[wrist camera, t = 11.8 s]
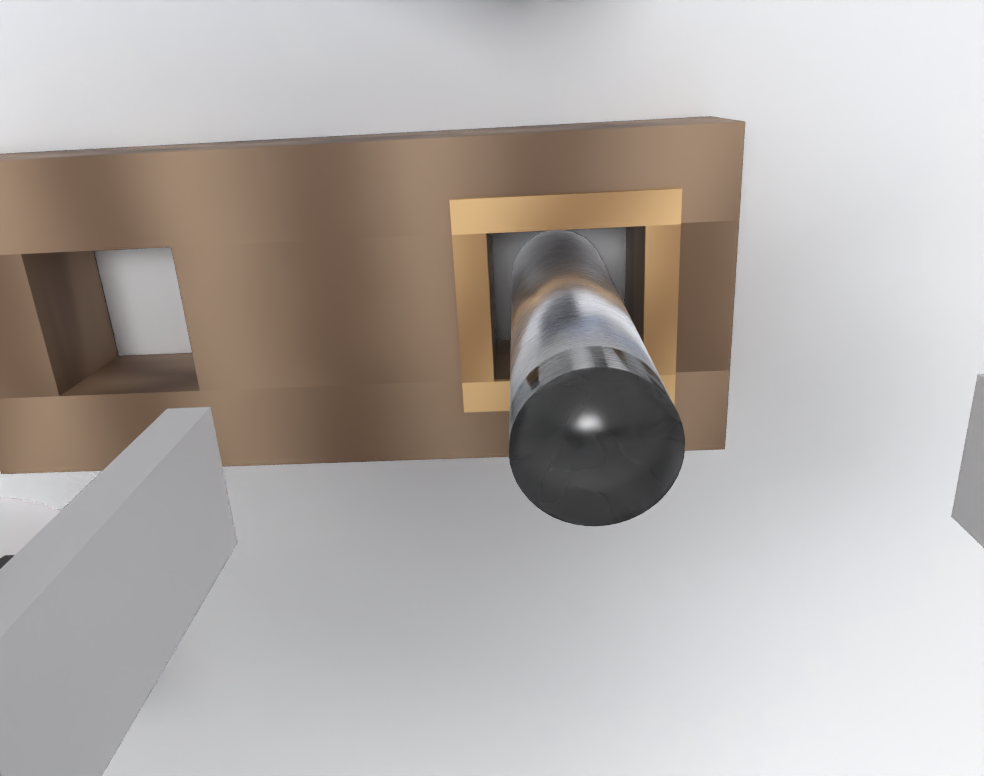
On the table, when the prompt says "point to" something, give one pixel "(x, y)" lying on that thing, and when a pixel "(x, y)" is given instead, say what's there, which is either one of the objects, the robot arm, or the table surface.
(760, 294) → the table surface
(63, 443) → the mount block
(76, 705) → the robot arm
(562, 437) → the lock pin
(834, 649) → the table surface
